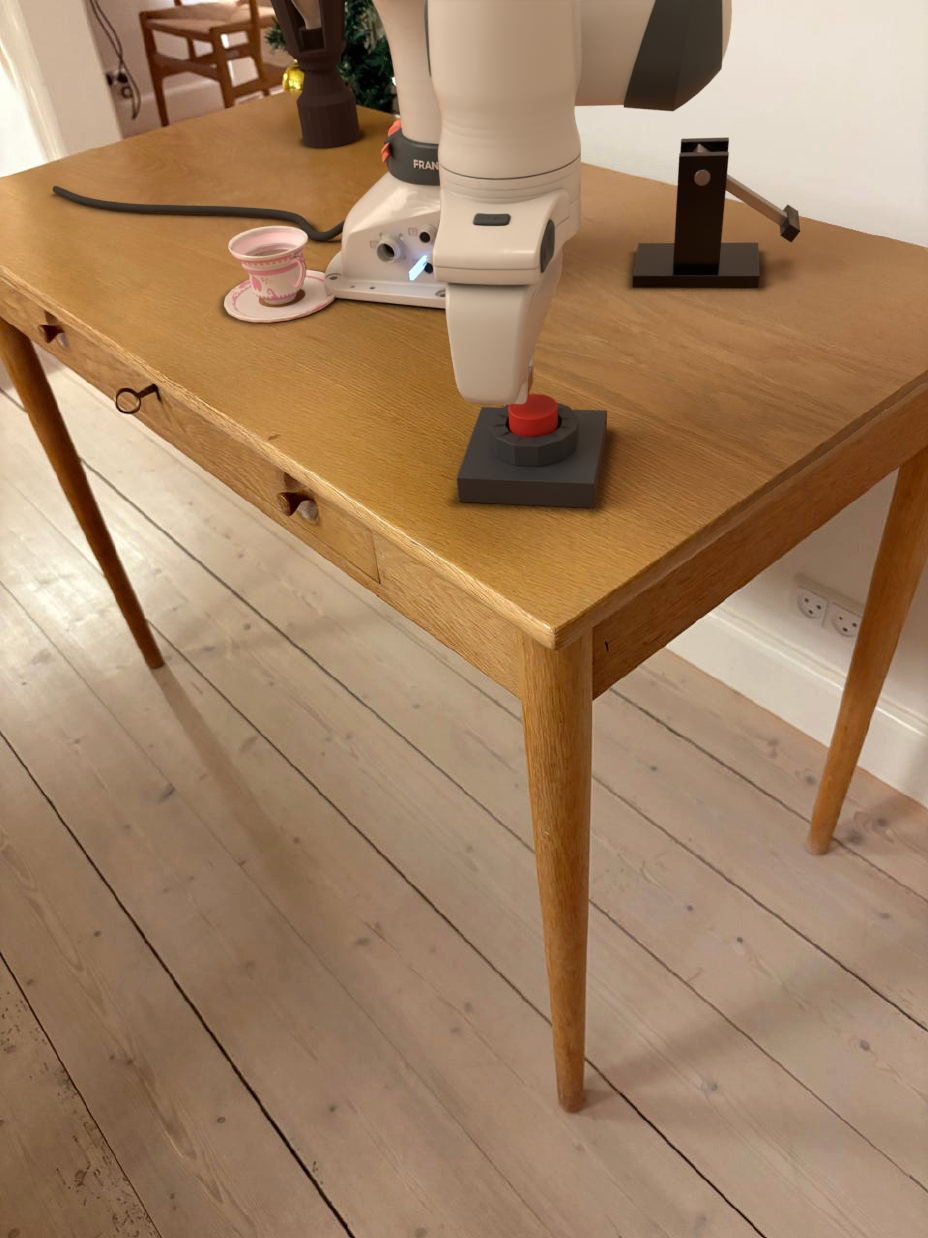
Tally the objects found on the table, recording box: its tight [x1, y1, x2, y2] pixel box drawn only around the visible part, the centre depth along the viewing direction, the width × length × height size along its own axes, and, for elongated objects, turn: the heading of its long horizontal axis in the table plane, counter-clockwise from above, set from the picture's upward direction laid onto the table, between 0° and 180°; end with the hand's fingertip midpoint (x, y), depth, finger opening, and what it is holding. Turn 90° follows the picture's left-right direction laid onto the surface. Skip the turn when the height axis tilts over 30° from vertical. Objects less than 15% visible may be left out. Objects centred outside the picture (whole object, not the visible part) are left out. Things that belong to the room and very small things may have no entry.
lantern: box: [269, 0, 361, 149], centre depth 134 cm, size 15×15×30 cm
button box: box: [456, 401, 608, 509], centre depth 76 cm, size 10×10×4 cm
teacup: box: [223, 225, 336, 324], centre depth 103 cm, size 12×12×6 cm
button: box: [508, 393, 558, 437], centre depth 74 cm, size 4×4×2 cm
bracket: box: [631, 137, 761, 289], centre depth 97 cm, size 12×8×12 cm, turn 79°
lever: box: [693, 144, 801, 243], centre depth 95 cm, size 12×5×2 cm
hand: (518, 393), depth 73 cm, fingers closed
